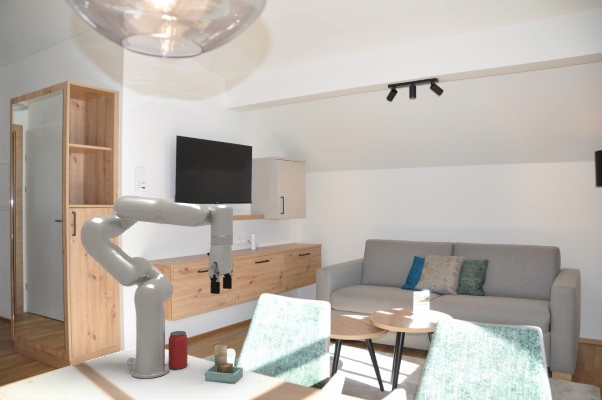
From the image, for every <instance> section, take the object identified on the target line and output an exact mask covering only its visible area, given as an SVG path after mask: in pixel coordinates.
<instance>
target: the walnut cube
mask: <svg viewBox="0 0 602 400" xmlns="http://www.w3.org/2000/svg"><path fill="white" fill-rule="evenodd" d="M233 367H234V363H232V362H227V365H225V366H217V372H219V373H229V374H233Z"/></svg>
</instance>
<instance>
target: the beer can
mask: <svg viewBox="0 0 602 400" xmlns="http://www.w3.org/2000/svg"><path fill="white" fill-rule="evenodd" d="M188 342H189V341H188V336H187V332H186V331H184V330H183V331H182V330H180V331H179V330H176V331H172V332H170V333H169V337H168V366H169V369H172V370H181V369H185V368H186V367H187V366H188V347H189V345H188Z"/></svg>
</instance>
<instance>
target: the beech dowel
mask: <svg viewBox="0 0 602 400" xmlns="http://www.w3.org/2000/svg"><path fill="white" fill-rule="evenodd" d="M227 363H228V345H227V344H217V345H215V346H214V365H215V366H225V365H227Z"/></svg>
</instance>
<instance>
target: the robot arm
mask: <svg viewBox="0 0 602 400" xmlns="http://www.w3.org/2000/svg"><path fill="white" fill-rule="evenodd" d="M139 222H143V223H153V224H160V225H163V224H164V225H165V224H166V225H172V226H181V227H182V226H183V227H193V228H194V227H195V228H197V227H204V226H210V248H209V253H208V254H209V255H208V256H209V257H208V275H209V277H208V278H209V282H210V294H211V295H213V294H214V295H220V294H221V282H220V279H221V276H223V277H222V289H223V290H231V289H232V287H233V268H234V263H233V247H232V246H233V245H234V243H233V242H234V207H233V206H232V205H229V204H215V205H212V204H211V205H210V204H205V203H204V204H202V203H201V204H200V203H187V202H186V203H184V202H176V201H175V202H174V201H168V200H166V199H163V198H158V197H157V198H155V197H145V196H138V195H122V196H120V197H118V198H117V199H116V200H115V201H114V204H113V211H112V212H110V214H104V215H95V216H91V217H89V218H88V219H86V220H85V221H84V223H83V224H82V226H81V230H80V242H81V244H82V247H83V249H84V251H85V252H86V253H87V254H88V255H89V257H91V258H92V259H93V260H95V262H97V263H98V265H100V266H101V267H102V268H103V269H104V270H105V271H106V272H107V273H108V274H109V275H110V276H111V277H112V278H113V279H114V280H115V281H117V282H118V284H120V285H121V286H123V287H126V288H128V287H129V288H130V287H134V286H137V288H135V289H136V290H135V292H134V298H133V299H134V300H133V301H134V308H135V320H136V321H135V322H136V323H135V326H136V330H135V333H136V335H135V345H136V346H135V353H136V354H135V357H128V359H127V361H126V365H127V366H132V369H131V371H130V374H131V376H132V377H134V378H137V379H152V378H153V379H154V378H158V377H162V376H164V375H167V374H168V373H169V372H170V367H169V364H166V361H165V360H166V315H165V314H166V313H165V308H164V303H165V302H167V301H168V300H170V299H171V297H172V295H173V293H174V286H173V283H172V282H171V280H170V279H169V278H168V277H167V276H166V275H165V274H164V273H163V272H162V271H161V270H160V269H158V268H157V267H156V265H154V264H153V263H152V262H151V261H150V260H148V259H146V258H144V257H141V256H134V257H132V256H130V255H128V254H127V252H125V251H124V250H123V249H122V248H121V247H120V246H118V245H117V244H115V243H114V242H112V240H111V239H115V238H117V237H119V236H121V235H122V234H124V233H125V232H126V231H128V230H129V229H130V228H131V227H133V226H134V225H136V224H137V223H139Z"/></svg>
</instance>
